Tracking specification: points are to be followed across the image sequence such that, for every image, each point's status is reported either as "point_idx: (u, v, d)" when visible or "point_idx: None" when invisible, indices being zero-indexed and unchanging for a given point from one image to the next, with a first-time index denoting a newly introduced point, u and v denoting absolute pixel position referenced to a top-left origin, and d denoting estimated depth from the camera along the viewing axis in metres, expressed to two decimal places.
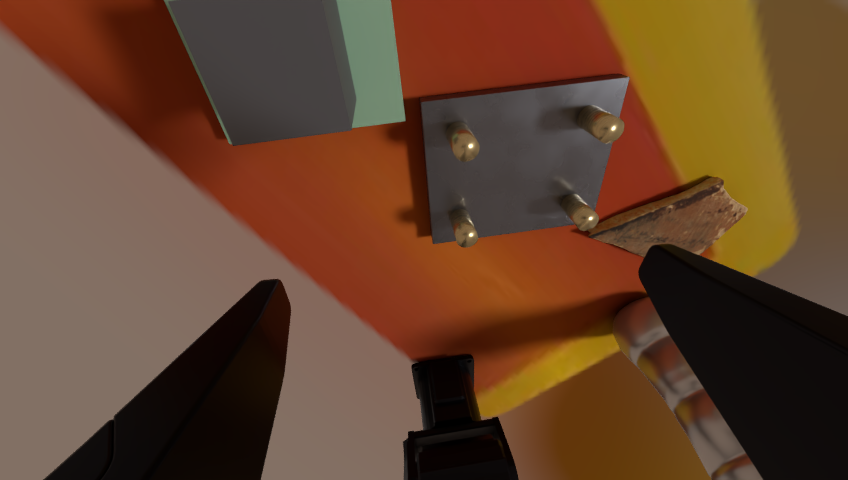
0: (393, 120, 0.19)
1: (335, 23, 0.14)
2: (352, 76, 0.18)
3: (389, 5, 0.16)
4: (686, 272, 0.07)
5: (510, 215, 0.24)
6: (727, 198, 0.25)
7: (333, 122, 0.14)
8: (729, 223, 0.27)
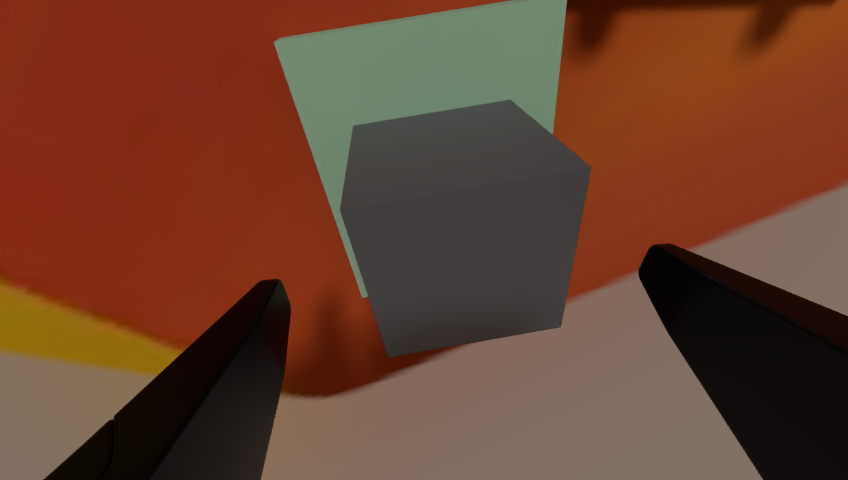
0: (560, 24, 0.10)
1: (399, 147, 0.09)
2: (474, 105, 0.11)
3: (367, 30, 0.09)
4: (686, 272, 0.07)
5: None
6: None
7: (566, 199, 0.07)
8: None
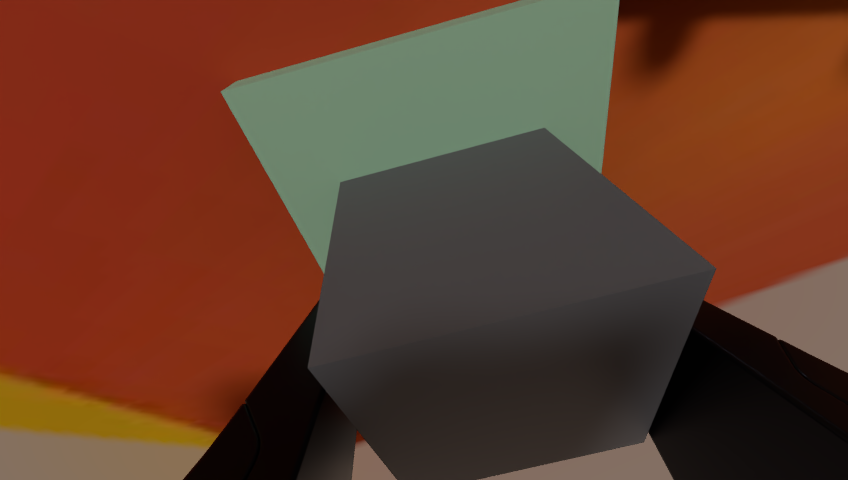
0: (611, 21, 0.07)
1: (399, 222, 0.06)
2: (497, 140, 0.08)
3: (344, 61, 0.07)
4: None
5: None
6: None
7: (668, 312, 0.04)
8: None
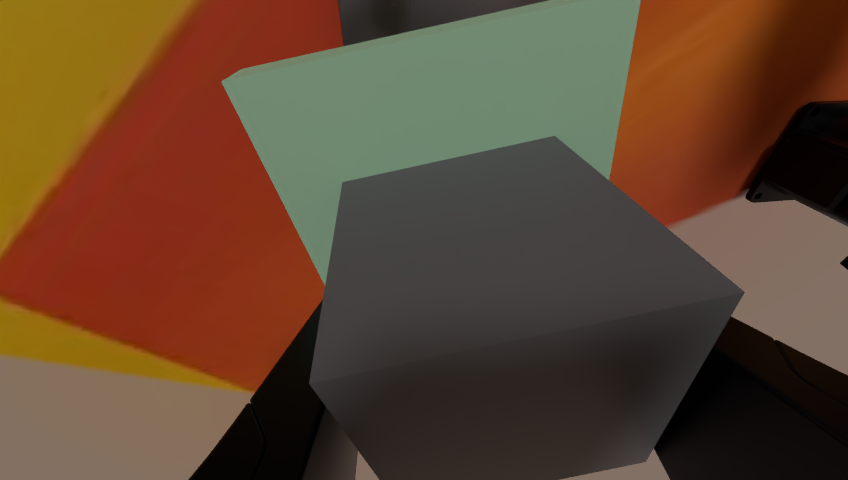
0: (629, 31, 0.07)
1: (405, 228, 0.06)
2: (506, 146, 0.08)
3: (353, 57, 0.06)
4: None
5: None
6: None
7: (689, 335, 0.04)
8: None
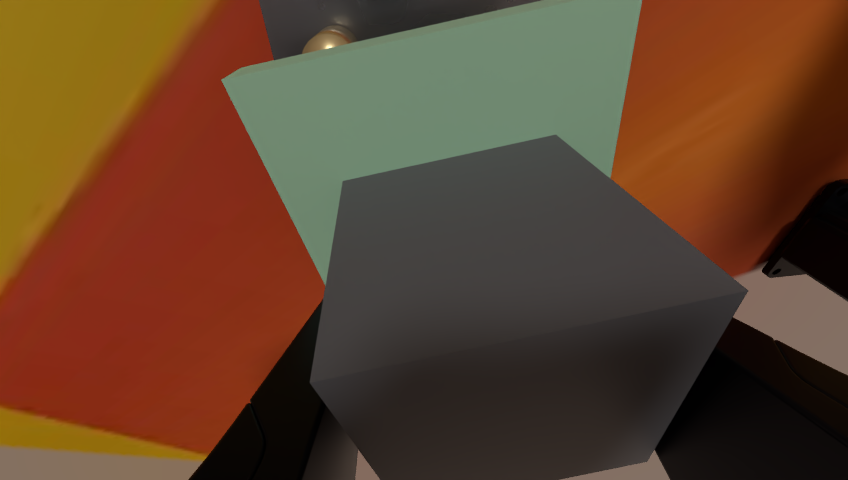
0: (631, 29, 0.07)
1: (406, 226, 0.06)
2: (507, 145, 0.08)
3: (354, 55, 0.06)
4: None
5: None
6: None
7: (692, 334, 0.04)
8: None
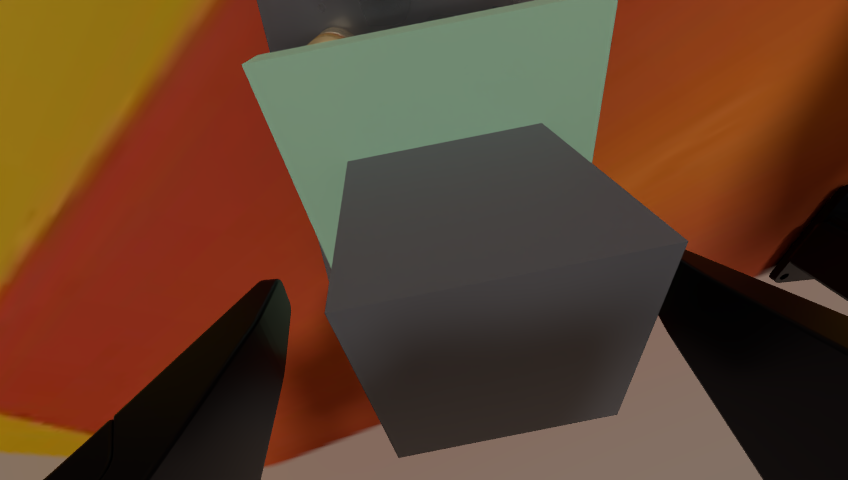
0: (608, 28, 0.07)
1: (406, 197, 0.07)
2: (497, 131, 0.08)
3: (361, 45, 0.07)
4: (686, 272, 0.07)
5: None
6: None
7: (645, 281, 0.05)
8: None
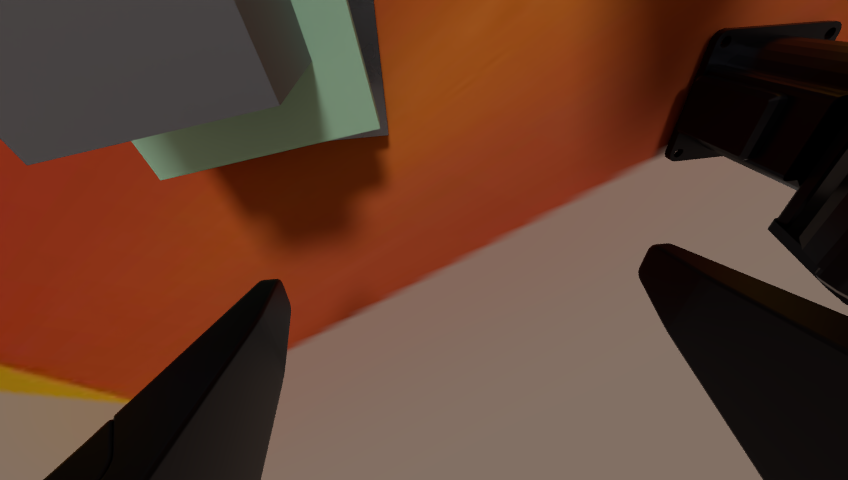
0: None
1: None
2: None
3: None
4: (686, 272, 0.07)
5: None
6: None
7: None
8: None
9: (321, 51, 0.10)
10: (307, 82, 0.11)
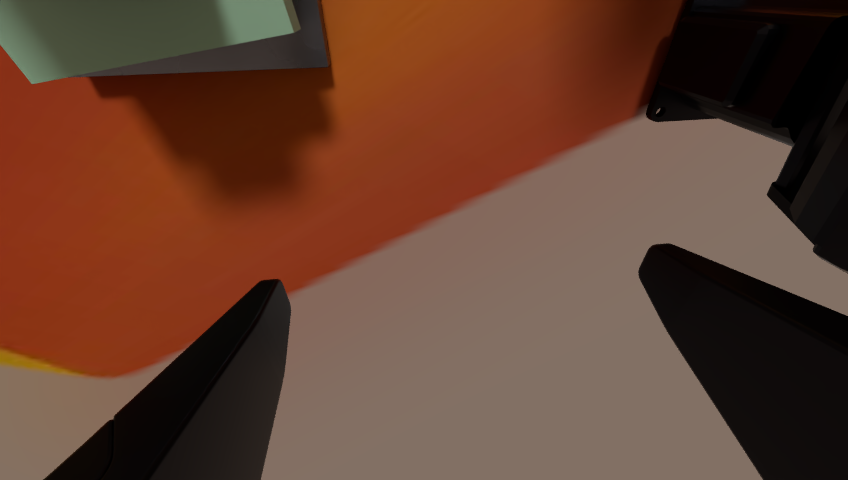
0: None
1: None
2: None
3: None
4: (686, 272, 0.07)
5: None
6: None
7: None
8: None
9: None
10: None
